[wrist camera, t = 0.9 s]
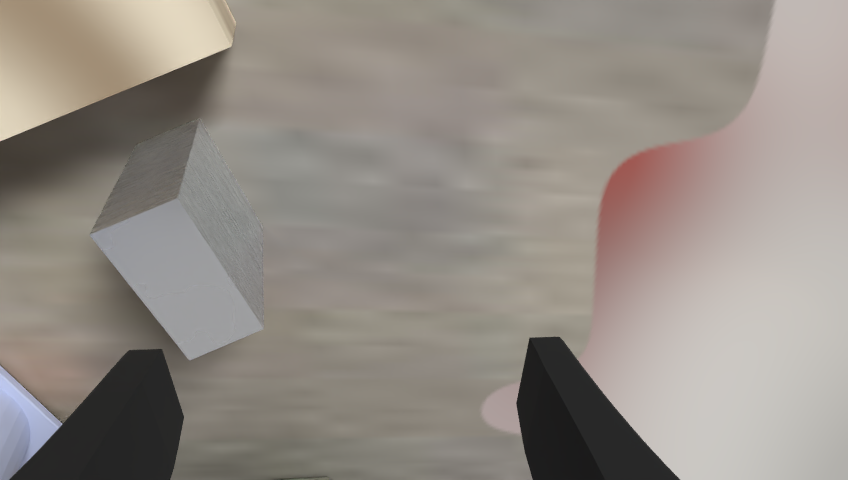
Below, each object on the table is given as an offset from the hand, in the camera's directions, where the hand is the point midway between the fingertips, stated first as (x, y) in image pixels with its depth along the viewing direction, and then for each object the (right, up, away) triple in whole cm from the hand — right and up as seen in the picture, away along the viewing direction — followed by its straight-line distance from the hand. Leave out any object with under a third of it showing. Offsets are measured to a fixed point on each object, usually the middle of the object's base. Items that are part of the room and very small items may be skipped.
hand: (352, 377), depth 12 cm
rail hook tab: (-7, +5, +11) cm, 14 cm away
